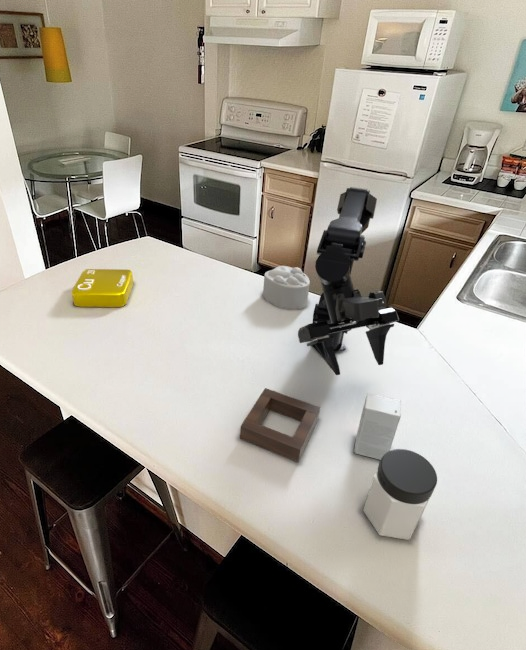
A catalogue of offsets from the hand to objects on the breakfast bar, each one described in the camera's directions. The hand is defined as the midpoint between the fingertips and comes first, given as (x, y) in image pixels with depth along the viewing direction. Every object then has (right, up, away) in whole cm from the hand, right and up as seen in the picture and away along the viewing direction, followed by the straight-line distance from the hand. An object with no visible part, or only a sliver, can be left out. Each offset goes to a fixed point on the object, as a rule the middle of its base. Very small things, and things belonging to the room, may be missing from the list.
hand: (359, 369), depth 83 cm
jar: (+2, -23, -10) cm, 25 cm away
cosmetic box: (+2, -15, +2) cm, 16 cm away
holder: (-14, -12, +6) cm, 20 cm away
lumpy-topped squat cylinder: (-7, +16, +46) cm, 49 cm away
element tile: (-61, +17, +48) cm, 79 cm away
